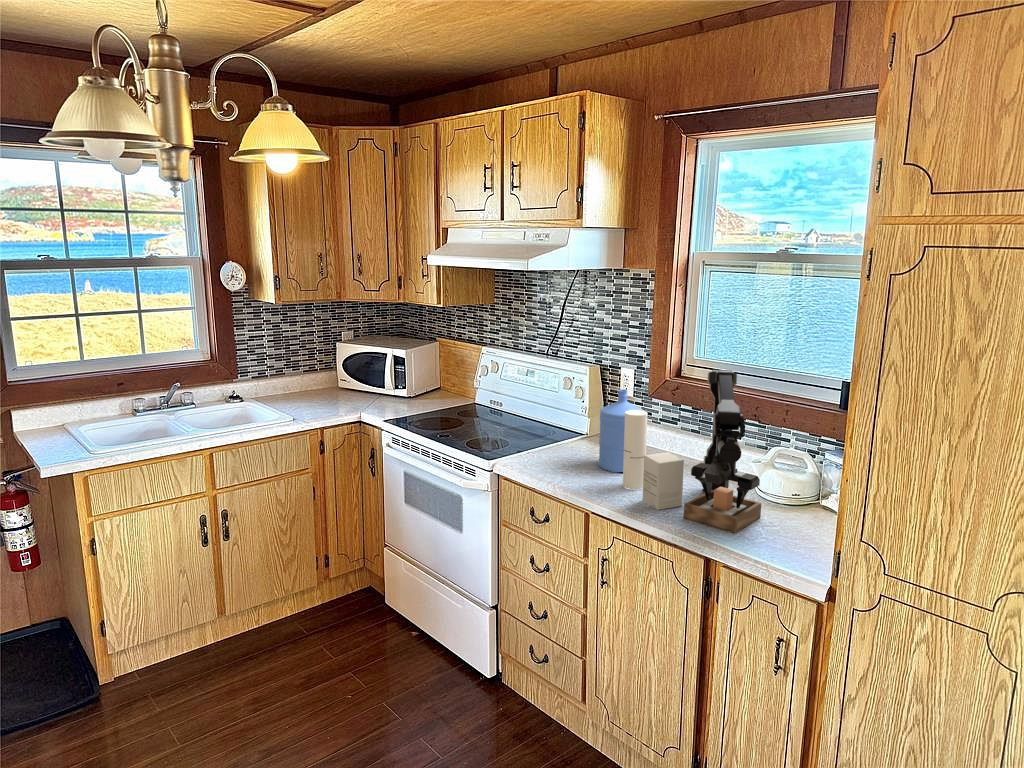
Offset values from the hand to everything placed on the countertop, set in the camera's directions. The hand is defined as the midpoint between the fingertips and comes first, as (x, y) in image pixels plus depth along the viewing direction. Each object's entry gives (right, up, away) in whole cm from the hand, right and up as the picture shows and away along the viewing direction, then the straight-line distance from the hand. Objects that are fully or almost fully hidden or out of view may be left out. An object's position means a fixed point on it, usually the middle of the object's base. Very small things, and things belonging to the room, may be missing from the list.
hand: (722, 503), depth 202 cm
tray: (0, -4, +1) cm, 4 cm away
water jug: (-22, +5, +47) cm, 53 cm away
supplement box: (-15, -2, +12) cm, 20 cm away
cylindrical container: (-21, +1, +27) cm, 35 cm away
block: (0, -4, +1) cm, 4 cm away
